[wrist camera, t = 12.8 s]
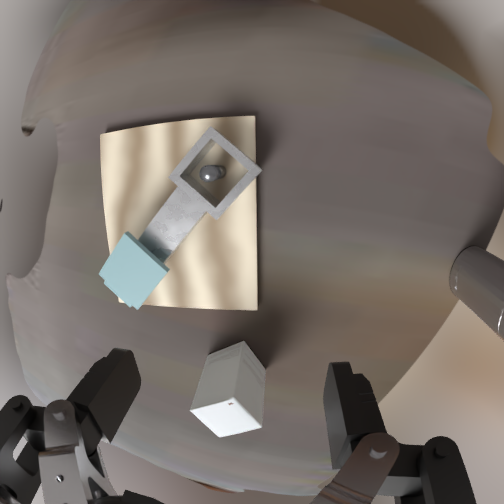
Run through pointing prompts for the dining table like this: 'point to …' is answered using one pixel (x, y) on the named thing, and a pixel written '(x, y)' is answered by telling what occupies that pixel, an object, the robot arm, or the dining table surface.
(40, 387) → the dining table surface
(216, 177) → the cylinder
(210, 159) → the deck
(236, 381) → the supplement box
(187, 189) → the link
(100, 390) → the robot arm
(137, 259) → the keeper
